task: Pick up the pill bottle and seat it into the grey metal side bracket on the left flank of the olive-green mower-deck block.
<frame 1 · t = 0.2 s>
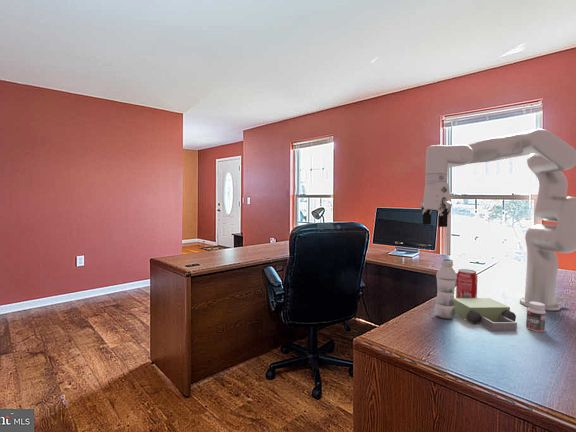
hand: (434, 225, 121), 31 cm above the table, fingers open, 9 cm apart
pill bottle: (535, 329, 103), on the table
deck: (479, 316, 114), on the table
soda can: (465, 304, 128), on the table
plastic bottle: (444, 317, 112), on the table
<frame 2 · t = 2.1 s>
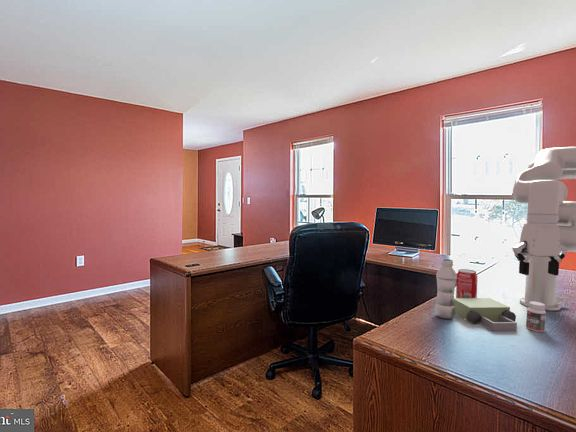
hand: (538, 274, 102), 18 cm above the table, fingers open, 9 cm apart
nothing on the table moved.
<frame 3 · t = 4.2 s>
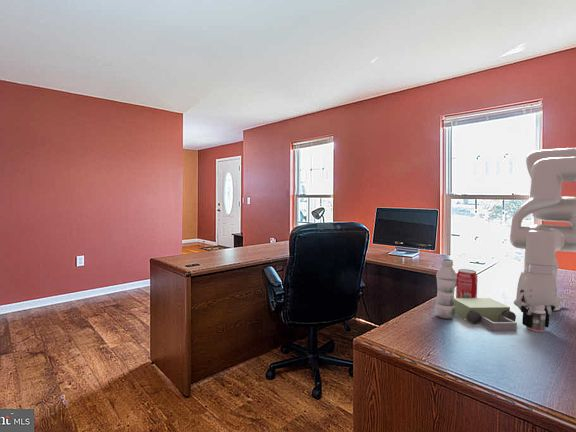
hand: (535, 325, 103), 1 cm above the table, fingers closed on pill bottle, 4 cm apart
pill bottle: (535, 329, 103), on the table, touching gripper
everything else where it was.
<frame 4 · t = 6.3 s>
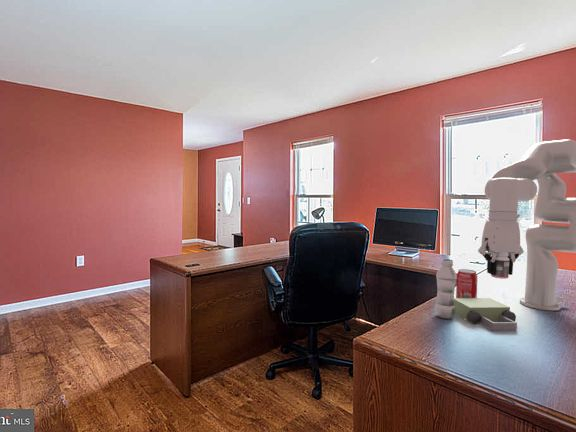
hand: (499, 273, 104), 17 cm above the table, fingers closed on pill bottle, 4 cm apart
pill bottle: (499, 277, 104), point 16 cm above the table, touching gripper
everything else where it was.
when the fingers open (3 cm above the table, at t = 8.7 s): pill bottle drops 2 cm, resting in deck.
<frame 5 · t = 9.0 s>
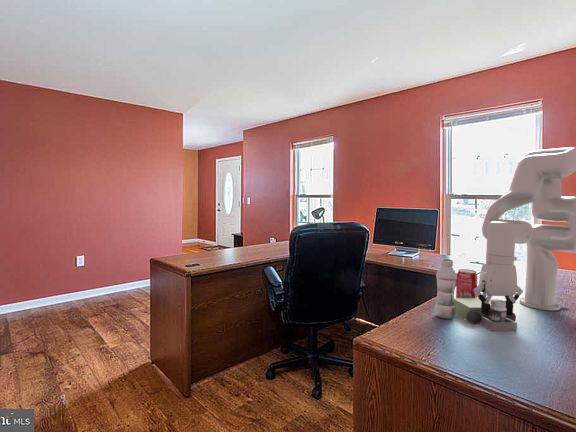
hand: (496, 314, 105), 4 cm above the table, fingers open, 7 cm apart
pill bottle: (496, 326, 106), resting in deck
everything else where it was.
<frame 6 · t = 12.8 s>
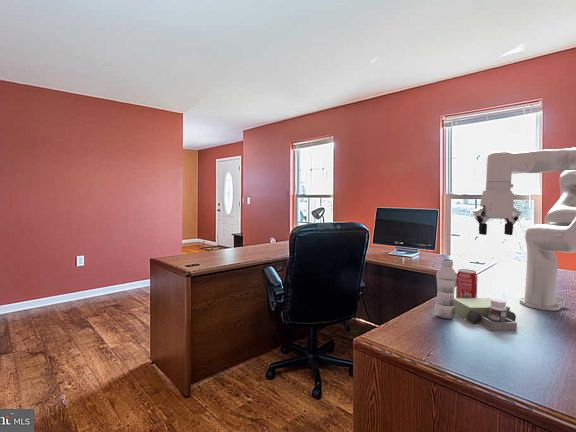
hand: (495, 234, 118), 28 cm above the table, fingers open, 9 cm apart
nothing on the table moved.
at the end: pill bottle inside the target area on the deck (0.2 cm from its centre), point 0.0 cm above the deck's base; pill bottle tilted 1°; the gripper is holding nothing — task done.
